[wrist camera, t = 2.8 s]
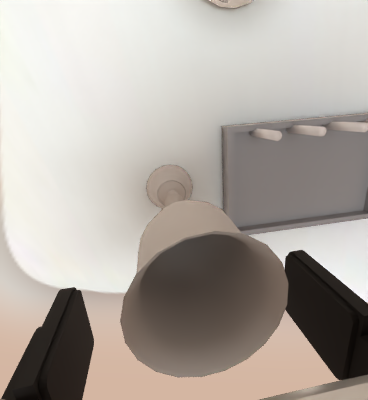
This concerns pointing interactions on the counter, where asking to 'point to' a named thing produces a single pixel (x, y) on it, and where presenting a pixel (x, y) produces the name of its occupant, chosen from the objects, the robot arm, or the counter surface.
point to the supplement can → (231, 3)
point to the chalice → (199, 286)
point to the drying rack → (295, 172)
